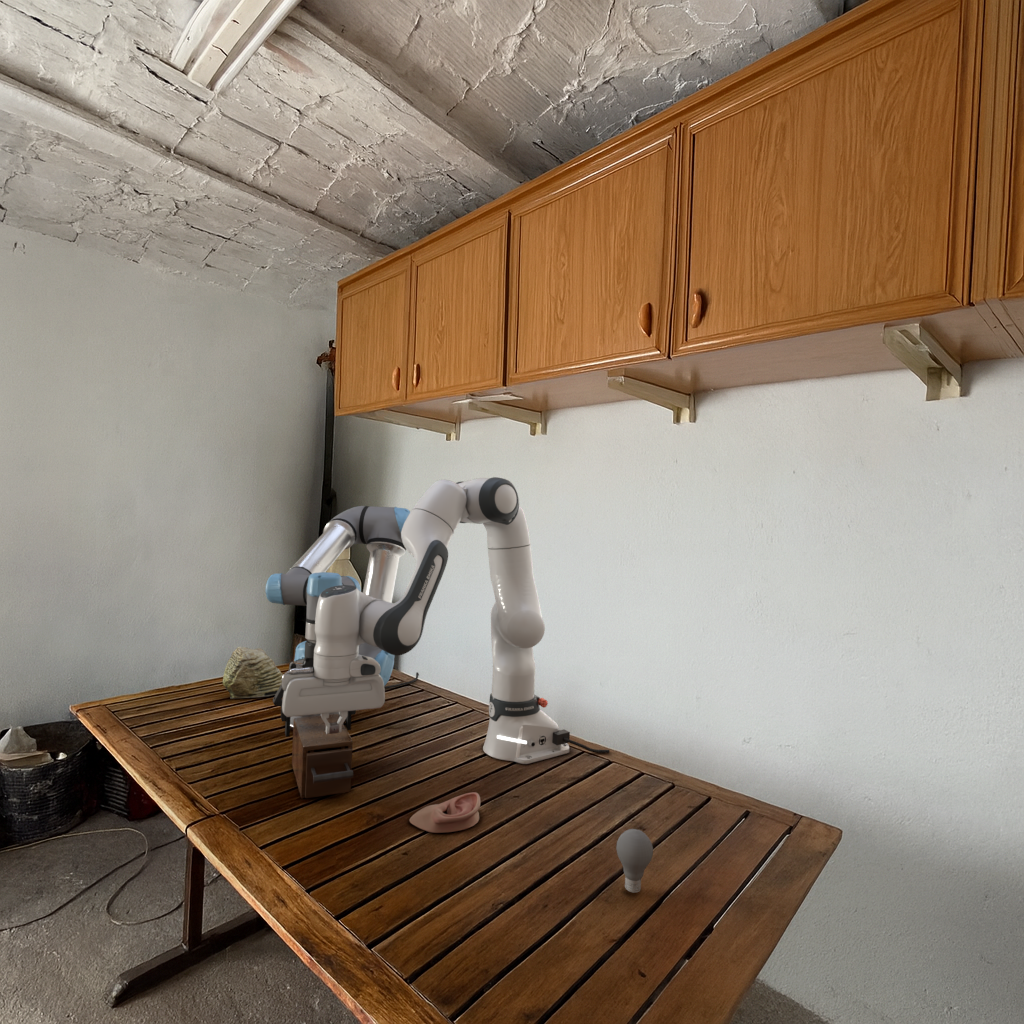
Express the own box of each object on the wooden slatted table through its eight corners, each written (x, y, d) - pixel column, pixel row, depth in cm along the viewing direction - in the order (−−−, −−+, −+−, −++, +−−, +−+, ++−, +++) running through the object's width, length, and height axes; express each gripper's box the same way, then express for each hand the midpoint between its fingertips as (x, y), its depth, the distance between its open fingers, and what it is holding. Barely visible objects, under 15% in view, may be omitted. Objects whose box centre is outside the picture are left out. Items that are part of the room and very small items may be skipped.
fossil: (218, 695, 195) (220, 647, 195) (278, 685, 208) (279, 640, 207) (228, 703, 189) (230, 653, 188) (289, 692, 201) (290, 645, 201)
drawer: (355, 804, 129) (357, 760, 129) (309, 811, 125) (311, 766, 125) (336, 760, 150) (338, 723, 150) (296, 766, 146) (297, 727, 146)
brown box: (350, 791, 137) (352, 741, 137) (301, 798, 133) (303, 747, 132) (336, 758, 153) (338, 713, 153) (291, 764, 149) (293, 718, 149)
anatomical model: (404, 808, 122) (424, 782, 133) (403, 828, 122) (423, 801, 133) (470, 818, 119) (485, 791, 131) (469, 838, 119) (484, 810, 131)
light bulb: (610, 879, 108) (613, 822, 108) (644, 879, 109) (647, 822, 109) (619, 902, 102) (622, 840, 102) (655, 901, 103) (658, 840, 103)
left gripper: (265, 646, 138) (261, 743, 138) (379, 640, 148) (375, 731, 148) (263, 639, 144) (259, 731, 145) (372, 634, 155) (368, 720, 155)
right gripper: (283, 673, 122) (281, 744, 122) (388, 665, 131) (385, 732, 131) (280, 665, 128) (278, 733, 128) (381, 658, 137) (378, 722, 137)
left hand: (318, 731), depth 147 cm, fingers open, 13 cm apart
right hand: (333, 732), depth 130 cm, fingers closed
